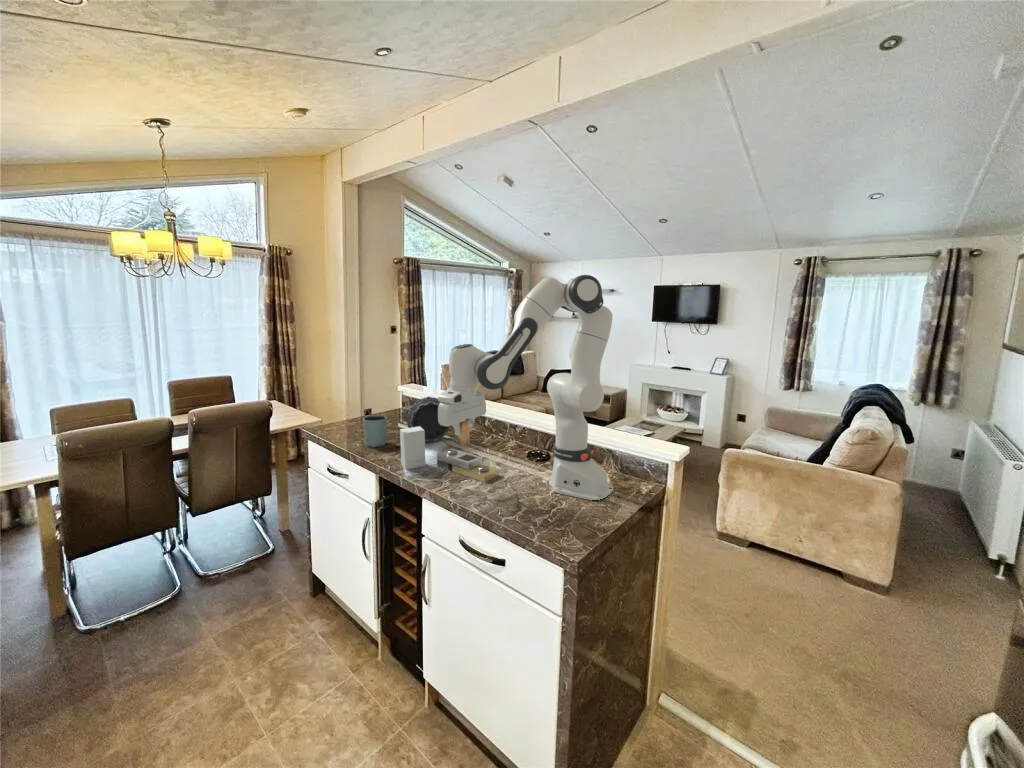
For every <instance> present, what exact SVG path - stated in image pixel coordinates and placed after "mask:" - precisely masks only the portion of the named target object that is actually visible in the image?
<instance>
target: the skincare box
mask: <svg viewBox="0 0 1024 768" xmlns="http://www.w3.org/2000/svg"><path fill="white" fill-rule="evenodd" d="M399 438H400V439H399V441H400V461H401V463H400V464H401V465H402V467H403V468H404V470H406V471H407V470H411V469H416V468H418V469H419V468H422V467H426V465H427V464H426V441H425V430H423V429H422V428H421V427H420V426H418V427H412V428H408V427H407V428H401V429H399Z"/></svg>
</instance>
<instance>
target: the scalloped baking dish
mask: <svg viewBox="0 0 1024 768" xmlns="http://www.w3.org/2000/svg"><path fill="white" fill-rule="evenodd" d="M439 404H440V401H438V397H432V396H427V397H422V398H419V399H417V400H416V401H415V402H414V403H413V404H412V405H411V406H410V407H409V409H408V412H407V415H406V424H407V428H412V427H418V426H420V427H421V428H422V429H423V430H425V443H426V442H427V443H430V442H431V443H432V442H436V441H439V440H441V439H443V438H444V437H445V436H446V435H447V434H448V432H450V429H451V426H452V425H451V426H447V427H446V426H442V425H440V424H439V422H438V406H439Z"/></svg>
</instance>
